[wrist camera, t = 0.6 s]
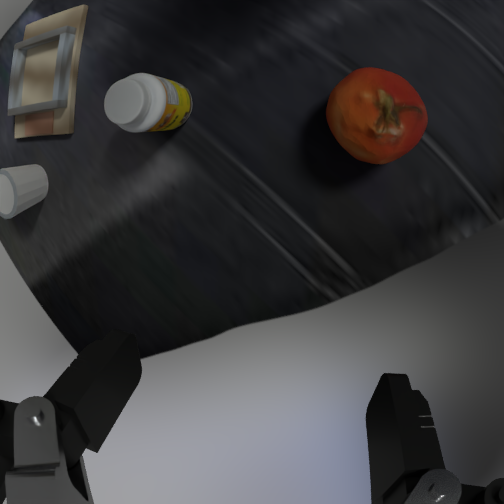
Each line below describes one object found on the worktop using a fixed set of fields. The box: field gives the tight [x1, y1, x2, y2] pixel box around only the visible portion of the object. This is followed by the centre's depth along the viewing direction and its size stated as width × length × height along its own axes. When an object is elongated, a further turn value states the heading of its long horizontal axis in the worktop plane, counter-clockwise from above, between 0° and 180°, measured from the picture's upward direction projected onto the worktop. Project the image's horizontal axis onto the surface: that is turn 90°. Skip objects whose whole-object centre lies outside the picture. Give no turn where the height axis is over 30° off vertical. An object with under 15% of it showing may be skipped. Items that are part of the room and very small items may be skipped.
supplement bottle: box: [104, 73, 192, 132], centre depth 27 cm, size 6×6×10 cm
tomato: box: [326, 68, 428, 164], centre depth 25 cm, size 9×9×8 cm
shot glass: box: [0, 164, 49, 219], centre depth 35 cm, size 7×7×7 cm
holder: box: [8, 5, 88, 138], centre depth 30 cm, size 18×12×3 cm, turn 174°
